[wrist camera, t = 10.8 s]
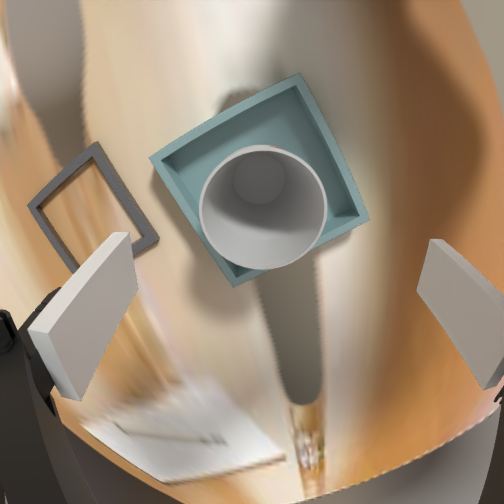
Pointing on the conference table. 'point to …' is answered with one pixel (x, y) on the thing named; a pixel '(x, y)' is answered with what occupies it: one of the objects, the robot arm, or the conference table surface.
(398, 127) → the conference table surface
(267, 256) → the cup
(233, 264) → the bin
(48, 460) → the robot arm
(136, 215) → the grey flat square frame
